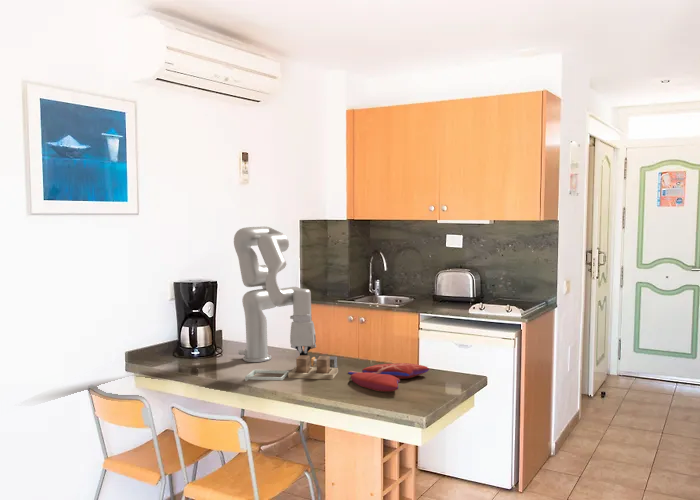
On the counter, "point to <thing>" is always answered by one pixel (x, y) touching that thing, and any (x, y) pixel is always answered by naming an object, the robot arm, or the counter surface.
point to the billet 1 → (303, 364)
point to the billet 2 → (323, 364)
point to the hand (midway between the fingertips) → (303, 361)
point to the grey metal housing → (333, 362)
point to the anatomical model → (386, 375)
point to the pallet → (313, 374)
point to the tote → (250, 376)
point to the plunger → (313, 361)
